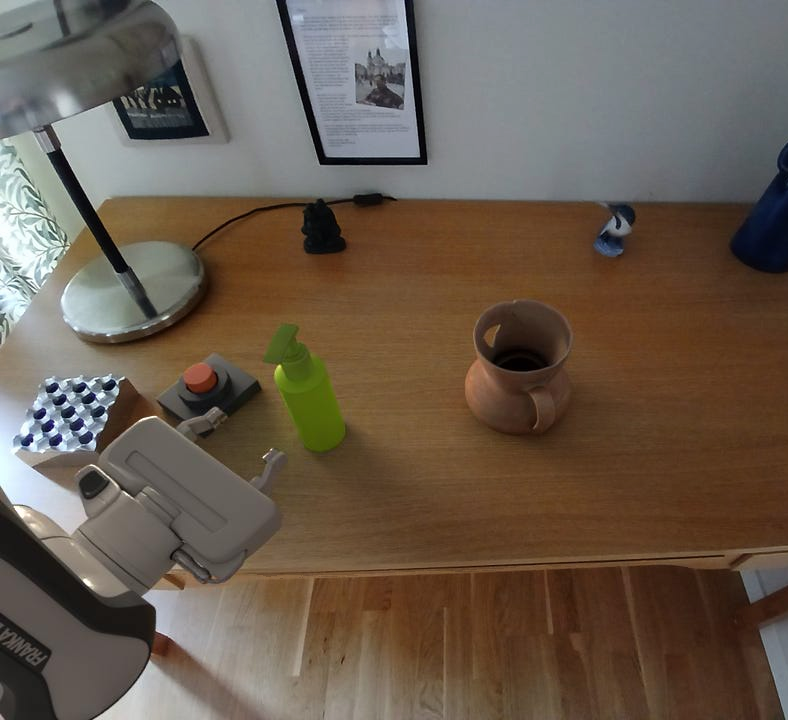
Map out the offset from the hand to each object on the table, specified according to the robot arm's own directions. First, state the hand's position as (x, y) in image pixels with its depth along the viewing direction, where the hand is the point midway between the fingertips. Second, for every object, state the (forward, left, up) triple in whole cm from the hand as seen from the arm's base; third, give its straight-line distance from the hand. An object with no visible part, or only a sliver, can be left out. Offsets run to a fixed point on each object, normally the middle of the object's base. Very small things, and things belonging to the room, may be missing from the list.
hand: (251, 432), depth 61 cm
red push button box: (+4, +17, -11) cm, 21 cm away
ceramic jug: (+27, -19, -11) cm, 35 cm away
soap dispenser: (+8, 0, -11) cm, 14 cm away
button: (+4, +17, -7) cm, 19 cm away
